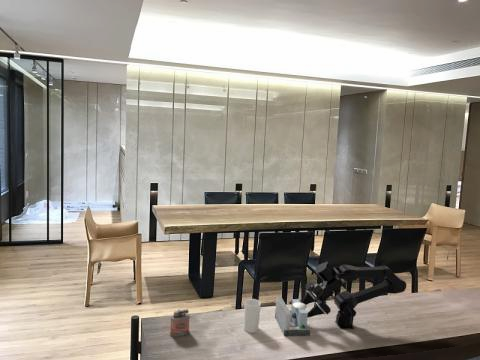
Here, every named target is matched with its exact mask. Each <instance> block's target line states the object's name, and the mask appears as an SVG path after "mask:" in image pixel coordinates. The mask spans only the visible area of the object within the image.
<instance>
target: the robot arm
mask: <svg viewBox="0 0 480 360" xmlns="http://www.w3.org/2000/svg"><path fill="white" fill-rule="evenodd" d="M314 271H315V273H316V274H317V275H318V277H320V278H321V280H322V281H324V283H323V282H321V283H317V282H315V281H313V280H311V279H308V281H307V283H306V284H305V287H304V288H305V289H304V291H305V293H304V297H303V299H302V300H301V301H300V302H301V303H304V304H305V305H306V306H307V305H309V304H311V303H313V302H314V304H313V307H312V308H311V309H310V310H309V311H307V313H308V316H307V319H308V318H311V317H315V316H320V315H328V314H330V313H331V311H332V309H331V307H330V306H329V305H328V304H327V303H328V302H327V300H329V299H330V298H334V300H333V303H334V305H335V306H336V307H337V309H338V310H337V314H336V315H335V316H336V318H335V321H334V322H335V324H336V325H337V326H338V327H339V328H340V329H342V330H343V329H348V330H349V329H352V330H353V329H355V326H354V317H356V315H357V311H356V310H355V308H356V307H357V305H359V304H361V303H364V302H367V301H370V300H373V299H375V298H378V297H381V296H383V295H386V294H394V295H395V294H401V293H404V292H405V291H406V289H407V283H406V281H405V280H403V279H402V278H401V277H399V276H398V275H396V274H395V273H394V272H393V271H392V269H391V268H389V267H387V266H386V265H380V266H379V265H378V266H354V265H350V264H341V265H340V266H334V267H333V266H332V265H331V263H330V262H328V261H325V262H321V263H319V264H318V265H317V266H316V267H315V270H314ZM366 278H368V279H369V278H384V280H383V281H382V282H381V283H378V284H375V285H373V286H370V287H367V288H364V289H362V290H358V291H355V292H349V290H346V289H347V283H351V282H355V281H357V280H359V279H366ZM341 288H343V289H344V291H341V292H338V293H337V291H339V290H340V289H341ZM335 293H337V294H336V295H335V297H334V294H335Z"/></svg>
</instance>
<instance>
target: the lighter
mask: <svg viewBox="0 0 480 360" xmlns="http://www.w3.org/2000/svg"><path fill="white" fill-rule="evenodd" d="M190 318H191V314H190V313H189V309H188V308H186V309H182V310H181V309H178V310H176V311H175V310H174V311H173V315H171V316H170V331H169V336H170V335H171V336H170V337H179V335H181V336H184V334H185V335H187V334H190Z"/></svg>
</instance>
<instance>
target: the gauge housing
mask: <svg viewBox="0 0 480 360" xmlns="http://www.w3.org/2000/svg"><path fill="white" fill-rule="evenodd" d="M275 299H276V300H275V313H274V318H275V320H276V322H277V324H278V327H279V330H280V331H281V332H282V334H283V336H284V337H311V327H310V326H306V327H305V328H303V327H295V326H291V322H292V320H291V310H290V309H289V307H288V306H287V304H286V303H285V301H284V299H283V298H282V296H281V295H280V296H277V295H276V298H275Z"/></svg>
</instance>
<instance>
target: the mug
mask: <svg viewBox="0 0 480 360" xmlns="http://www.w3.org/2000/svg"><path fill="white" fill-rule="evenodd" d="M261 305H262V303H261V301H260V300H259V299H256V298H248V299H246V300H245V301H244V308H243V309H244V310H243V315H244V316H243V330H244V332H247V333H257V332H258V331H259V324H260V316H261V315H260V313H261Z"/></svg>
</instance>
